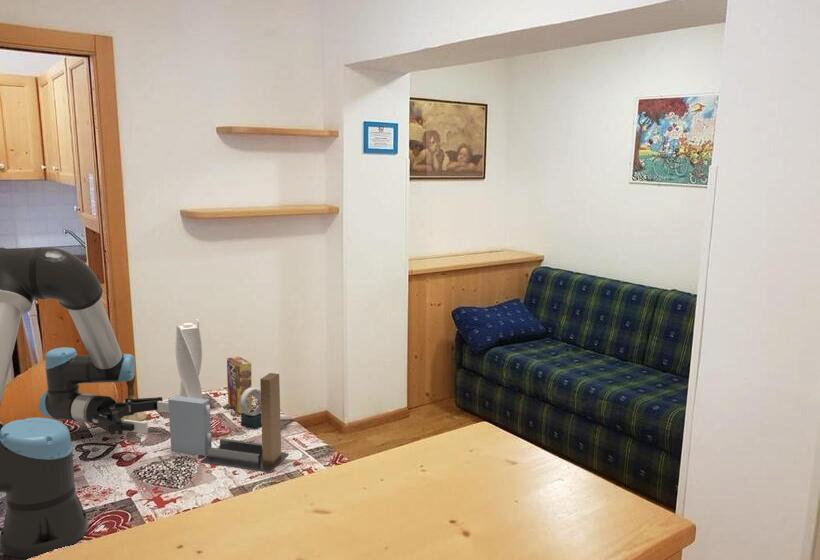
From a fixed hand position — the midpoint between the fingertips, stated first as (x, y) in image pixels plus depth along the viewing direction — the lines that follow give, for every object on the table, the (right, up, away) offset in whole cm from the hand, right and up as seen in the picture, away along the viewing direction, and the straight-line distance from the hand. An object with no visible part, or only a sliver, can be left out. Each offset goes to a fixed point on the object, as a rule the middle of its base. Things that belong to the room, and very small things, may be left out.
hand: (163, 417), depth 167 cm
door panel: (+8, -8, -1) cm, 11 cm away
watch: (+20, -6, +16) cm, 26 cm away
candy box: (+13, -3, +28) cm, 31 cm away
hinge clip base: (+23, -9, -5) cm, 25 cm away
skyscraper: (-2, -3, +28) cm, 28 cm away
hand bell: (-17, -5, +20) cm, 26 cm away
